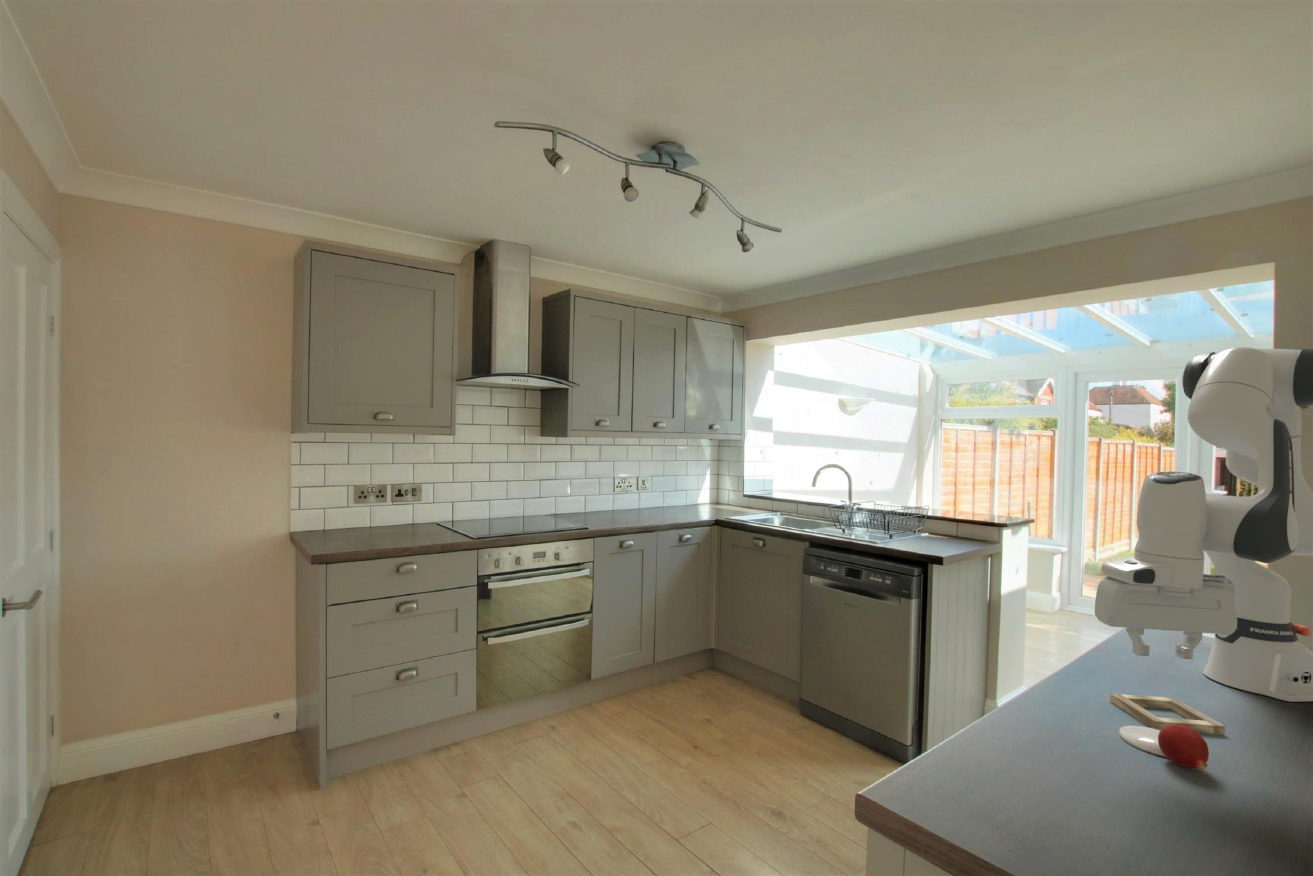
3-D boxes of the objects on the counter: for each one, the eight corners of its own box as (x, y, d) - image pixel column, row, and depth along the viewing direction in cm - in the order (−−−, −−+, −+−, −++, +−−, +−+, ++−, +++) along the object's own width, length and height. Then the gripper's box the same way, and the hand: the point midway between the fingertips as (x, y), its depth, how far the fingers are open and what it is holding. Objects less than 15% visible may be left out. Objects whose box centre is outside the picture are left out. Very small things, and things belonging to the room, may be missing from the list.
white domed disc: (1165, 731, 108) (1166, 727, 108) (1214, 761, 98) (1214, 758, 98) (1105, 727, 109) (1105, 723, 109) (1147, 756, 99) (1147, 753, 99)
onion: (1179, 741, 101) (1218, 785, 94) (1142, 739, 102) (1177, 783, 94) (1190, 713, 99) (1230, 755, 92) (1152, 711, 99) (1189, 753, 92)
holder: (1173, 705, 120) (1173, 697, 120) (1224, 734, 108) (1224, 726, 108) (1109, 701, 120) (1110, 693, 120) (1154, 729, 109) (1154, 721, 109)
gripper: (1218, 571, 106) (1212, 654, 106) (1091, 563, 107) (1086, 645, 107) (1251, 580, 100) (1246, 668, 100) (1116, 571, 101) (1111, 658, 101)
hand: (1162, 656), depth 103 cm, fingers open, 5 cm apart
